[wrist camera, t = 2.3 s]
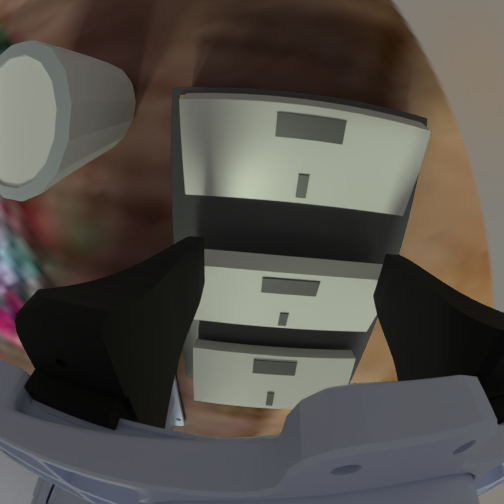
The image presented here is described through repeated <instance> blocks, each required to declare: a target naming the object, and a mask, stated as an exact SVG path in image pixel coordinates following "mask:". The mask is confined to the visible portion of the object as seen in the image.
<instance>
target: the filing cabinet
mask: <svg viewBox="0 0 504 504" xmlns="http://www.w3.org/2000/svg"><path fill="white" fill-rule="evenodd" d="M186 93H235V94H255V95H269V96H281V97H291V98H300V99H308V100H315V101H323V102H329V103H335V104H341V105H347V106H353V107H358V108H363V109H368V110H373V111H377V112H382V113H386V114H391V115H395V116H399V117H403V118H407V119H410V120H414V121H418V122H421V123H422V124H424V125H425V126H426V125H427V118H424V117H420V116H417V115H413V114H410V113H406V112H402V111H398V110H394V109H390V108H386V107H382V106H377V105H373V104H368V103H363V102H358V101H353V100H348V99H342V98H336V97H330V96H323V95H316V94H309V93H301V92H292V91H282V90H271V89H257V88H237V87H178V88H173V97H172V131H171V181H172V217H173V239H174V244H175V243H177V242H179V241H180V240H182V239H184V238H186V237H188V236H194V237H204V249H212V250H223V251H234V252H246V253H257V254H269V255H280V256H292V257H304V258H315V259H327V260H338V261H350V262H362V263H373V264H383V262H384V258H385V255H386V254H394V255H399V252H400V248H401V245H402V241H403V238H404V234H405V230H406V226H407V223H408V219H409V215H410V210H411V206H412V202H413V198H414V193H415V189H416V184H417V179H418V176H417V179H416V182H415V185H414V187H413V190H412V193H411V196H410V199H409V201H408V204H407V207H406V209H405V212H404V214H403V216H399V215H393V214H386V213H378V212H371V211H363V210H356V209H348V208H339V207H331V206H322V205H313V204H303V203H293V202H283V201H272V200H260V199H248V198H235V197H221V196H205V195H187V194H185V184H184V172H183V159H182V144H181V128H180V108H179V99H180V98H181V97H183V96H184V95H185V94H186ZM418 174H419V173H418ZM377 317H378V316H377V315H376V317H375V319H374V320H373V322H372V324H371V325H370V327H369V329H368V330H367V332H357V331H328V330H308V329H291V328H277V327H264V326H253V325H242V324H232V323H222V322H213V321H204V320H196V319H193V322H192V324H191V327H190V329H189V332H188V335H187V337H186V340H185V342H184V345H183V352H184V360H185V367H186V375H187V377H193V346H194V344H195V342H196V339H201V340H209V341H217V342H226V343H236V344H246V345H258V346H270V347H285V348H302V349H327V350H352V352H353V354H354V356H355V358H356V359H355V363H354V367H353V370H352V374H351V377H350V380H349V383H350V381H351V379H352V377H353V375H354V373H355V370H356V368H357V366H358V364H359V361H360V359H361V357H362V354H363V352H364V350H365V347H366V345H367V343H368V340H369V338H370V335H371V333H372V330H373V328H374V325H375V323H376V320H377Z"/></svg>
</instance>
